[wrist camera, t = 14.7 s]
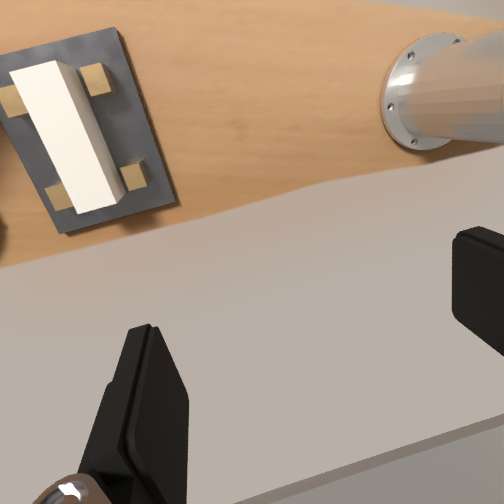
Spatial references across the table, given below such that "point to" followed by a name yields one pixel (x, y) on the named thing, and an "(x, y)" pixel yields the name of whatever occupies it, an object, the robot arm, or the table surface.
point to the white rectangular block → (70, 134)
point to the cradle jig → (108, 118)
